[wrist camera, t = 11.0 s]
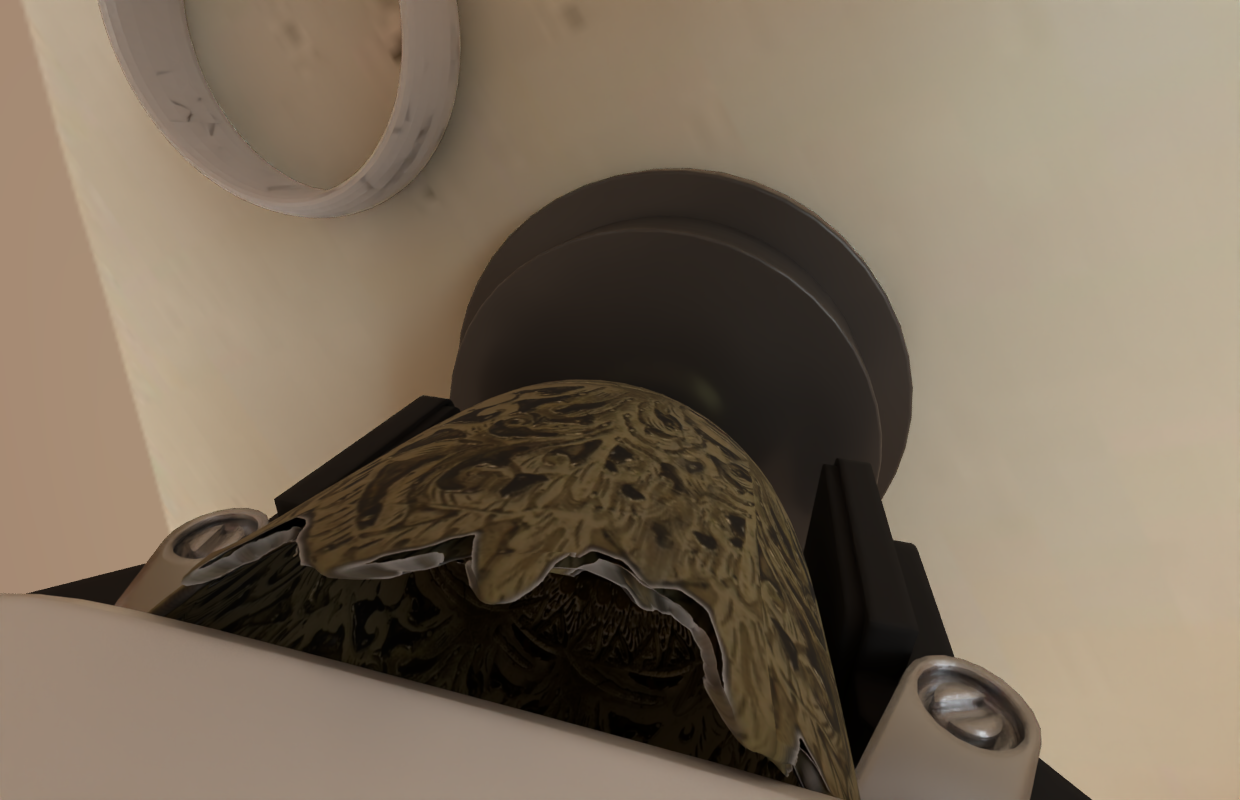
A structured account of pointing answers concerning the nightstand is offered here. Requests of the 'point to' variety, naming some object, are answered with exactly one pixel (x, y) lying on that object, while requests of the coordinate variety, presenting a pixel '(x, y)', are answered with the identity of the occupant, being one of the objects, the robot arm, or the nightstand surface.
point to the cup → (560, 579)
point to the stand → (701, 320)
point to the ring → (198, 129)
